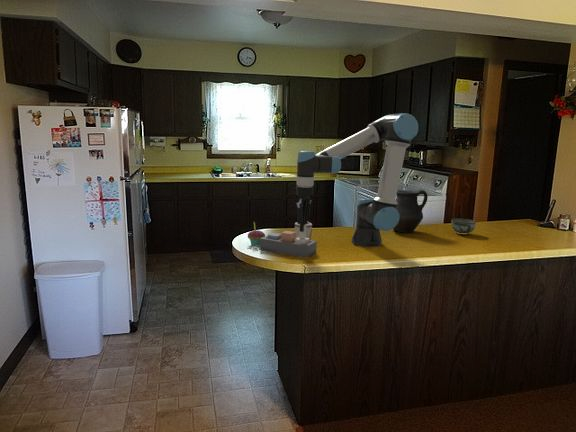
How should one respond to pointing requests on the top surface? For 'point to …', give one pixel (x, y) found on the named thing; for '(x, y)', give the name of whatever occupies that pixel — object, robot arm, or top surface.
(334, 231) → the top surface
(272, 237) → the blue cube
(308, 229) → the teacup with lid
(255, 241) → the cupcake
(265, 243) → the tray
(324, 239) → the top surface
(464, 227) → the bowl
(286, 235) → the orange cube
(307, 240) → the key ivory
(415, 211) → the pitcher
